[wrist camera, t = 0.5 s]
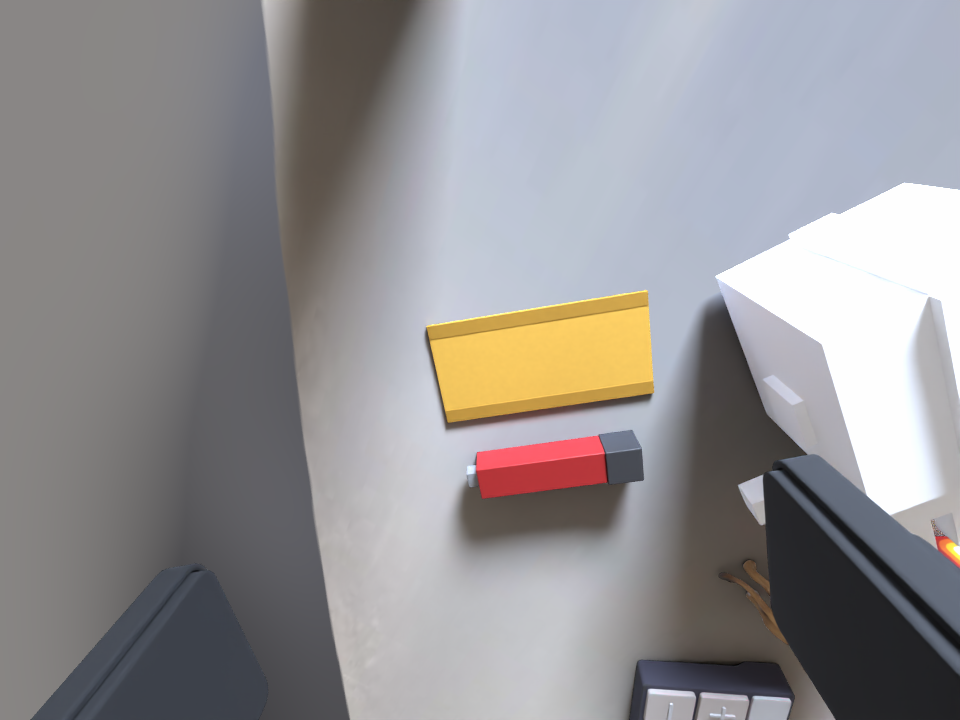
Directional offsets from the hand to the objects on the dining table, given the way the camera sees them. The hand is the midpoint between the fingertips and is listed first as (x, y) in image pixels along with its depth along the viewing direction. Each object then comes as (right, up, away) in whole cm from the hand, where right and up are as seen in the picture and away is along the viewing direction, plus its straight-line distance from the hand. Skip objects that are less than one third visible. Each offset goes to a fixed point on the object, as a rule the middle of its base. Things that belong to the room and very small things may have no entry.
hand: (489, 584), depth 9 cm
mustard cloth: (+5, +4, +35) cm, 35 cm away
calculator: (+24, -33, +48) cm, 64 cm away
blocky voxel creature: (+31, +3, +34) cm, 46 cm away
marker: (+7, -5, +38) cm, 39 cm away
